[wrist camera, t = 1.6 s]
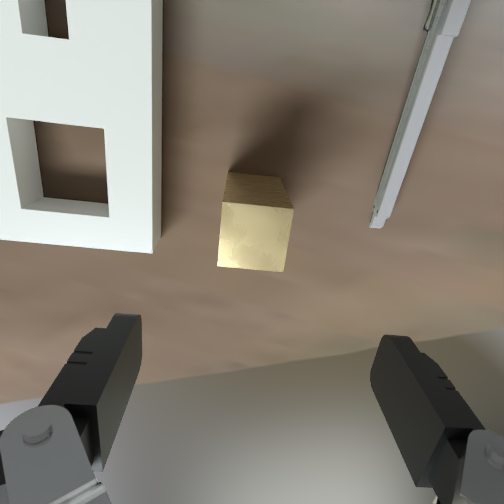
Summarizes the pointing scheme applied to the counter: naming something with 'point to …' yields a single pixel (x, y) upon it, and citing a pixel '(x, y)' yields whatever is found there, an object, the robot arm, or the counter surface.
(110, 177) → the white peg hole board
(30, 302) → the counter surface
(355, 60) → the counter surface
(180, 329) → the counter surface
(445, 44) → the caliper
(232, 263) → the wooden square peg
